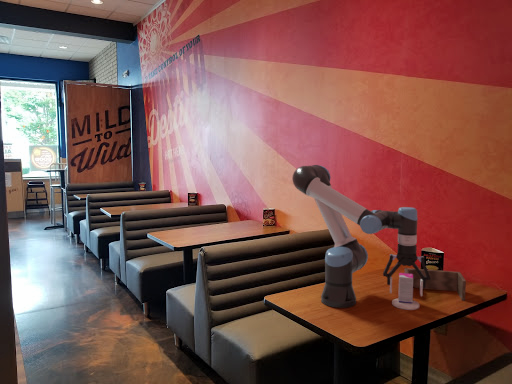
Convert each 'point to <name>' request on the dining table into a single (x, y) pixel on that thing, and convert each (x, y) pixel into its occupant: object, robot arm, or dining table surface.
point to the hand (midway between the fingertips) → (405, 293)
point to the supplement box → (405, 288)
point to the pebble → (405, 305)
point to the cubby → (440, 281)
